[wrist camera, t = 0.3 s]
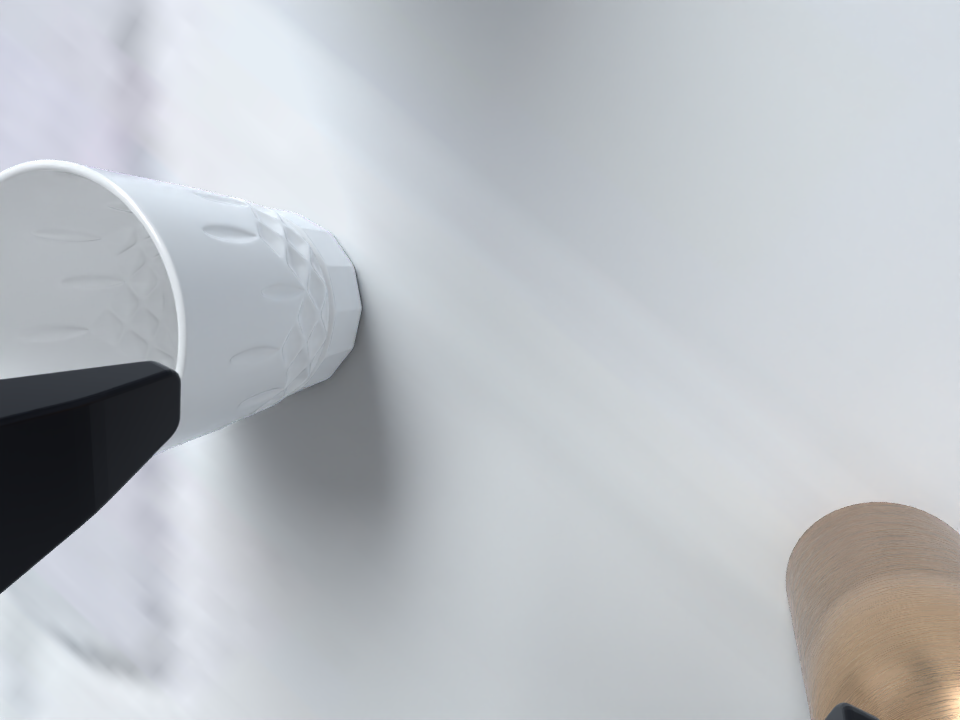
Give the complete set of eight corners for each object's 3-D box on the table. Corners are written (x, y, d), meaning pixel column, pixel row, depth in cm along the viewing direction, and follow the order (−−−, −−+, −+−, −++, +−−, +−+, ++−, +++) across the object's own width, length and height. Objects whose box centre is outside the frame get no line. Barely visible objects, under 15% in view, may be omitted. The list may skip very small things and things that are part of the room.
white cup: (178, 219, 28) (-92, 198, 19) (355, 173, 26) (144, 123, 16) (218, 417, 29) (-24, 491, 20) (396, 392, 26) (215, 464, 17)
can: (843, 697, 23) (982, 1200, 11) (752, 547, 23) (785, 866, 11) (1025, 634, 21) (1443, 1150, 9) (923, 471, 21) (1194, 753, 9)
